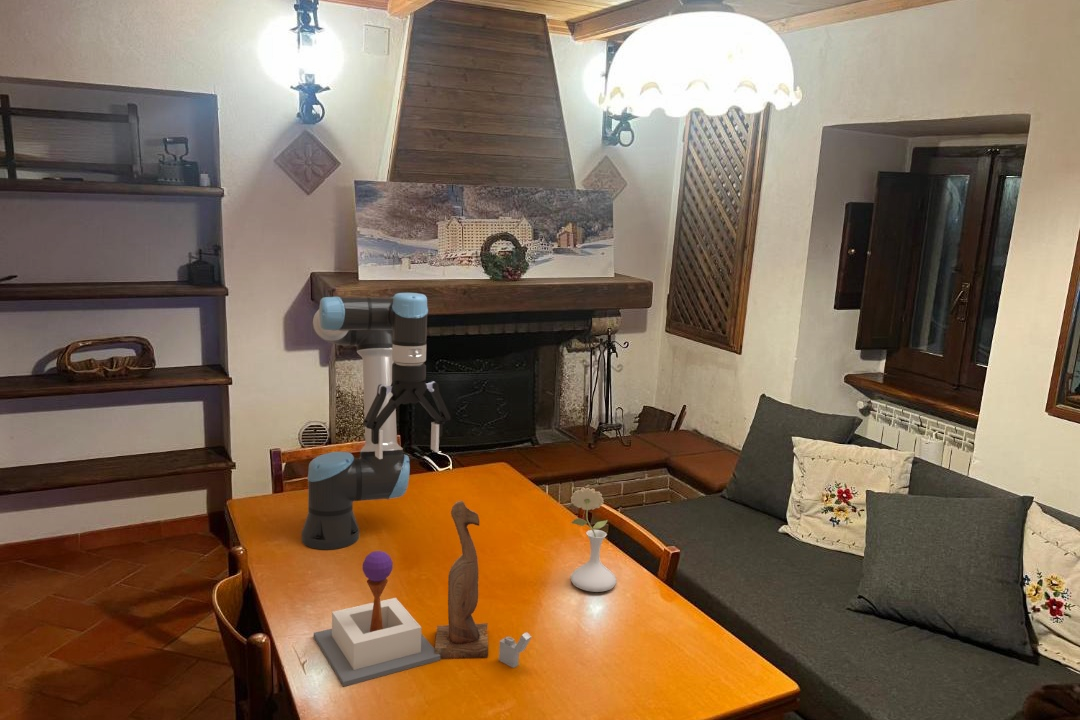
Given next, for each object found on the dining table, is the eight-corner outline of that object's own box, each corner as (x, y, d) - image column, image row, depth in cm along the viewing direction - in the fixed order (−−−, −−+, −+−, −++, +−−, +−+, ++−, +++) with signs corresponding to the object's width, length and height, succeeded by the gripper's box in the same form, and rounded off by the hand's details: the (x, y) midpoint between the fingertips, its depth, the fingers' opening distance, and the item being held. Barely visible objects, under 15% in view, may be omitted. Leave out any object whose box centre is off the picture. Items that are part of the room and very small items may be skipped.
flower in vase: (622, 582, 198) (629, 487, 194) (606, 600, 188) (613, 501, 184) (574, 570, 204) (580, 478, 199) (556, 588, 194) (562, 491, 189)
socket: (313, 637, 166) (313, 608, 165) (402, 616, 176) (403, 589, 175) (343, 686, 149) (343, 655, 148) (440, 660, 160) (441, 630, 159)
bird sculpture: (492, 659, 162) (497, 512, 156) (434, 662, 160) (437, 513, 154) (487, 631, 172) (492, 492, 167) (433, 633, 171) (436, 492, 165)
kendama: (368, 654, 159) (370, 560, 155) (356, 641, 163) (358, 549, 160) (395, 646, 162) (397, 554, 159) (383, 633, 167) (385, 544, 164)
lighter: (498, 660, 161) (499, 624, 159) (504, 656, 162) (505, 621, 161) (524, 674, 156) (526, 637, 155) (530, 670, 158) (532, 633, 156)
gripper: (360, 368, 166) (359, 465, 170) (466, 362, 179) (463, 452, 183) (349, 362, 173) (348, 455, 176) (452, 356, 186) (449, 443, 189)
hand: (407, 454), depth 180 cm, fingers open, 13 cm apart
